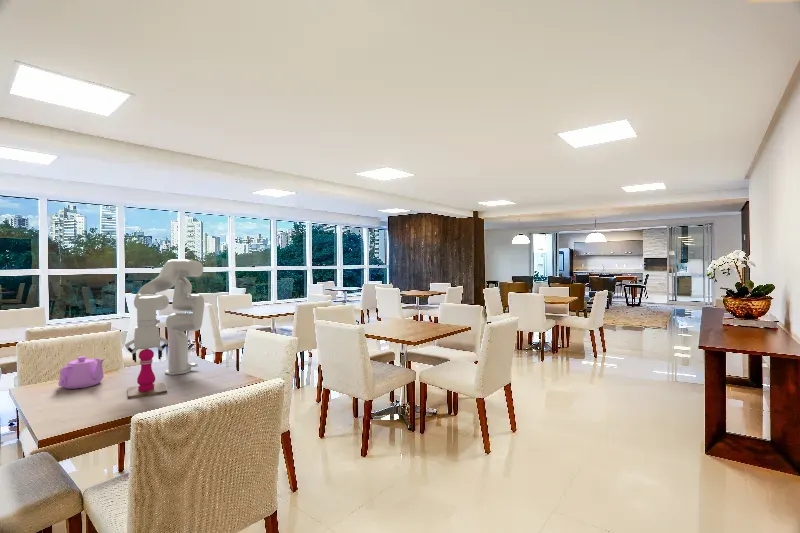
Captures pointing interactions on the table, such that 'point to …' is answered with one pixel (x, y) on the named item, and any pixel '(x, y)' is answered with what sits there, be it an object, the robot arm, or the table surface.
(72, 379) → the teapot
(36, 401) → the table surface
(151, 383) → the pepper mill
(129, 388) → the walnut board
